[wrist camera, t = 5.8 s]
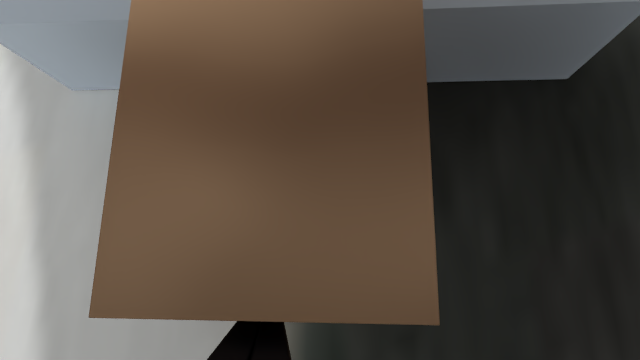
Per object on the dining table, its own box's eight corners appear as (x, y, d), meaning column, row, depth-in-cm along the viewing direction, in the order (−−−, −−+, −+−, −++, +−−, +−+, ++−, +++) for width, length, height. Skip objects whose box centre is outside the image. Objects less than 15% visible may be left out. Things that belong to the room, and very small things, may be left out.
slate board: (566, 78, 17) (655, 0, 12) (71, 90, 18) (-28, 25, 14) (558, 16, 17) (639, -82, 13) (81, 32, 19) (-11, -50, 14)
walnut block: (393, 297, 15) (439, 325, 8) (216, 294, 16) (88, 317, 8) (387, 83, 17) (418, -70, 10) (230, 86, 18) (138, -56, 10)
